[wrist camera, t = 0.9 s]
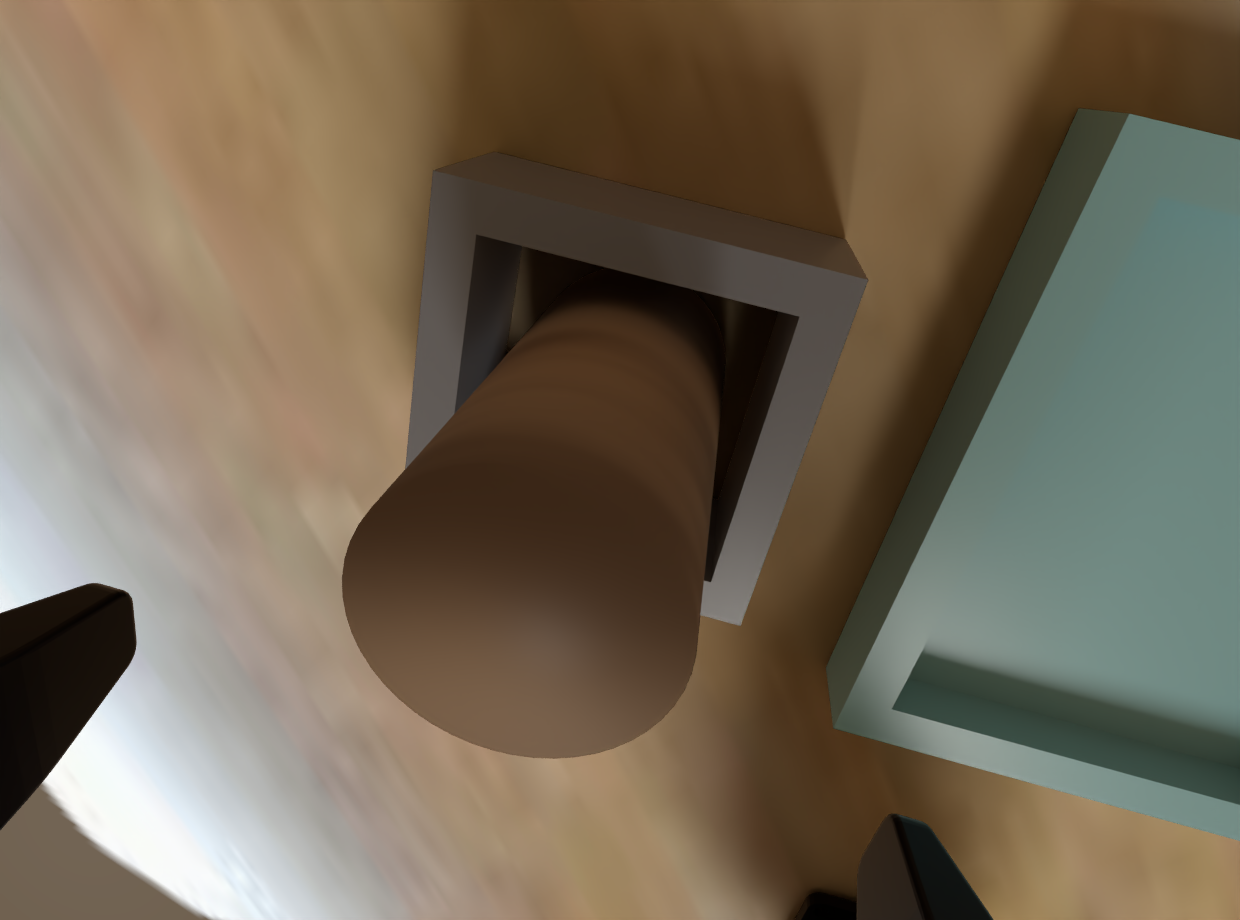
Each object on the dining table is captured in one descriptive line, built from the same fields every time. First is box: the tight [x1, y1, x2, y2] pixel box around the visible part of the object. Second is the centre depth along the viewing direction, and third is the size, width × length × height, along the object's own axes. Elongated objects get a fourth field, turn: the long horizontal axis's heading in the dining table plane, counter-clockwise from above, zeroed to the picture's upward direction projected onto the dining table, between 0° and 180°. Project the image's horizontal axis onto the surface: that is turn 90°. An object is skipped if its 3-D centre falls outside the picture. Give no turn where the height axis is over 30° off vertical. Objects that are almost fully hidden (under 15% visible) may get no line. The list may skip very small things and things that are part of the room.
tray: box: [826, 108, 1240, 841], centre depth 19 cm, size 16×13×2 cm
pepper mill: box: [342, 268, 726, 759], centre depth 15 cm, size 5×5×11 cm
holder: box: [405, 152, 868, 626], centre depth 19 cm, size 9×9×4 cm
